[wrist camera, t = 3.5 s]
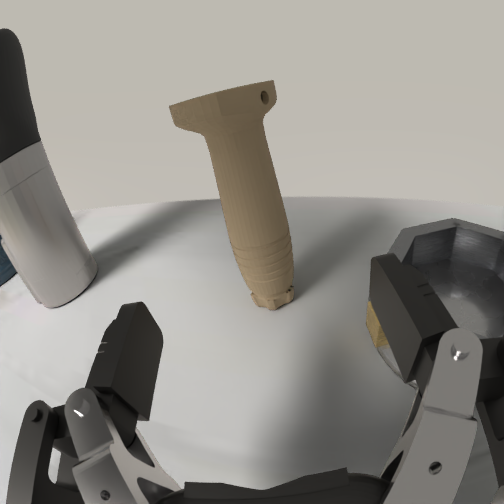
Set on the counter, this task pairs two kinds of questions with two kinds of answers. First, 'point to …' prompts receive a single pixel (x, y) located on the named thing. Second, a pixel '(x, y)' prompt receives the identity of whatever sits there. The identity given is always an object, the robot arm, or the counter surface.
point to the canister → (5, 265)
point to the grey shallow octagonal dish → (453, 276)
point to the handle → (246, 185)
